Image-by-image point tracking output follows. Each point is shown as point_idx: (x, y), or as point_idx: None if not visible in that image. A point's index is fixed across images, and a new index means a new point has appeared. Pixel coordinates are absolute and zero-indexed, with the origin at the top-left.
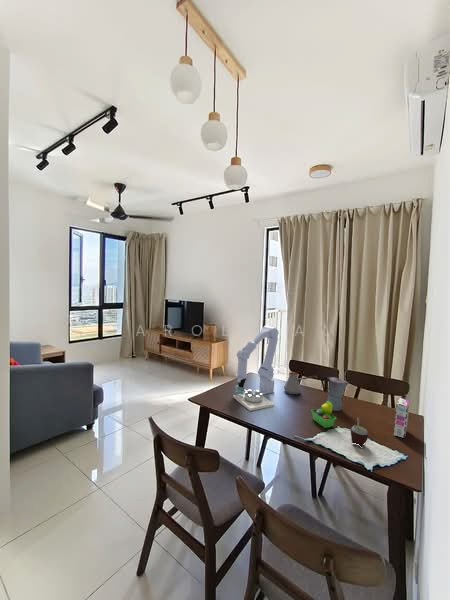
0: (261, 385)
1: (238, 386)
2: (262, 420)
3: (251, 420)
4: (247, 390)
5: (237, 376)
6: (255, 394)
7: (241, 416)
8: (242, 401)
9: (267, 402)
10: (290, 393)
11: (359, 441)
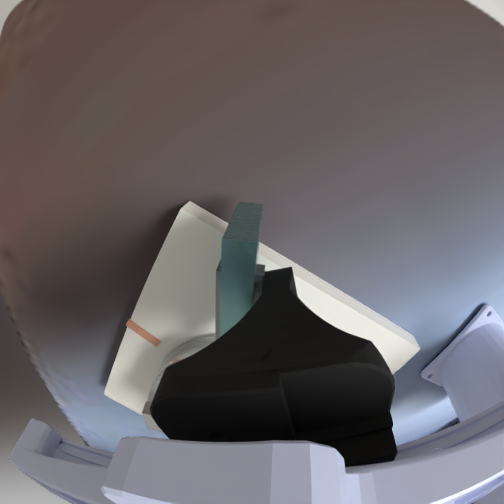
0: (472, 390)
1: (235, 299)
2: (100, 423)
3: (63, 393)
4: None
5: (77, 497)
6: None
7: (44, 357)
8: (130, 341)
9: None
10: None
11: None
